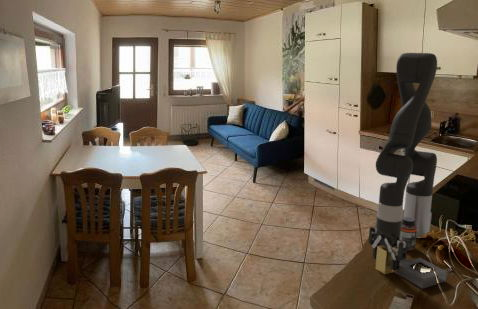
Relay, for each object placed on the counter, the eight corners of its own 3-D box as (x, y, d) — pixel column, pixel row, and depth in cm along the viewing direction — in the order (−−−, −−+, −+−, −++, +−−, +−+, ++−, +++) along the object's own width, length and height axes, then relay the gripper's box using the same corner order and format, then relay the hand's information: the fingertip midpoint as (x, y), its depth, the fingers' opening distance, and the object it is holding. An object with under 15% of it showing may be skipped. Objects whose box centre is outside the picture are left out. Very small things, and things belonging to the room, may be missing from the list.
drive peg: (384, 266, 131) (386, 243, 129) (393, 271, 128) (396, 249, 126) (375, 268, 129) (377, 246, 128) (384, 274, 126) (386, 251, 124)
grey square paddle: (390, 250, 142) (391, 242, 141) (445, 281, 122) (446, 271, 121) (368, 256, 138) (369, 247, 137) (422, 288, 118) (423, 278, 117)
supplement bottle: (400, 242, 148) (403, 214, 146) (416, 247, 145) (420, 218, 142) (394, 248, 144) (397, 219, 141) (412, 253, 140) (415, 223, 138)
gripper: (416, 222, 119) (411, 271, 123) (381, 207, 132) (378, 252, 136) (398, 226, 116) (393, 277, 120) (364, 210, 129) (360, 256, 133)
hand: (385, 263), depth 128 cm, fingers open, 7 cm apart
